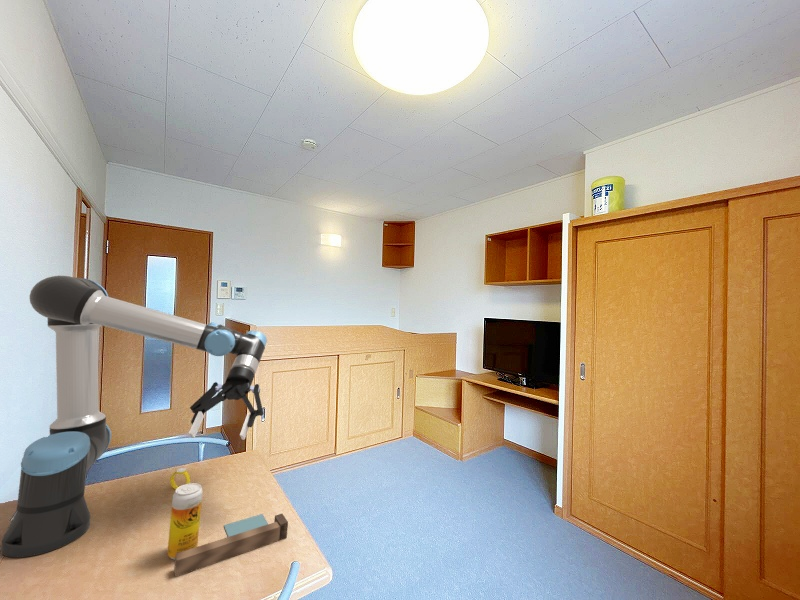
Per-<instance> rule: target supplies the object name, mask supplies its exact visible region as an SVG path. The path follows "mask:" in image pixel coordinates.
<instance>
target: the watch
mask: <svg viewBox="0 0 800 600" xmlns="http://www.w3.org/2000/svg"><path fill="white" fill-rule="evenodd" d="M176 475H183V476H184V478H185V484H189V483H191V476H190V474H189V472H187V468H186V467H180V468H178V469H176V470H175V471H174V472H173V473H172V474H171V475H170V478H169V480H170V481H169V482H170V486H171V487H172V488H173V489H174V490H176V489H177V488H178V487H180V486H181V485H179V486H178V485H177V484H176V481H175V476H176Z"/></svg>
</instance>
